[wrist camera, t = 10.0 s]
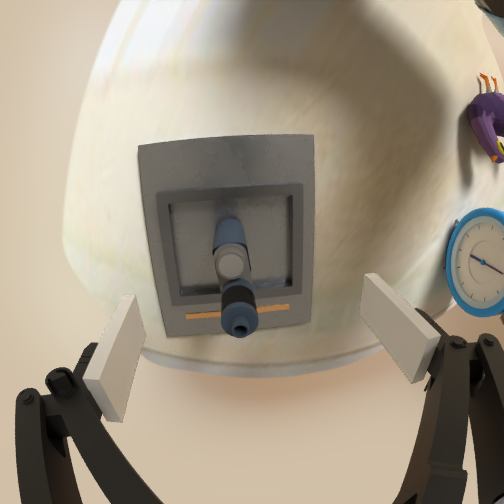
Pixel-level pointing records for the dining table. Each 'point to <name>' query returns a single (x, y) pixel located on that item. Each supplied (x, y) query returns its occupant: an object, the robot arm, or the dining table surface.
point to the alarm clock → (478, 263)
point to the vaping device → (234, 279)
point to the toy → (488, 120)
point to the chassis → (230, 207)
